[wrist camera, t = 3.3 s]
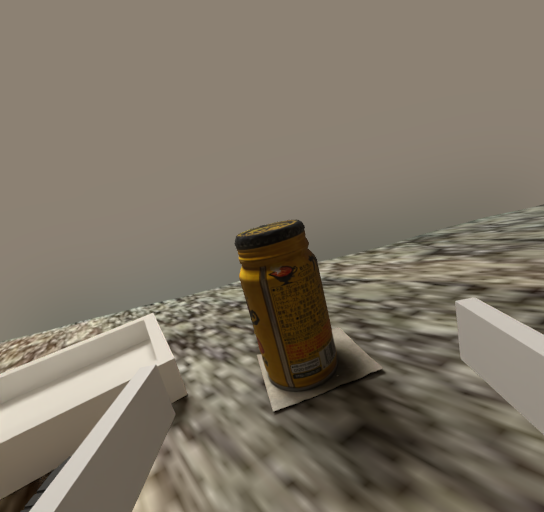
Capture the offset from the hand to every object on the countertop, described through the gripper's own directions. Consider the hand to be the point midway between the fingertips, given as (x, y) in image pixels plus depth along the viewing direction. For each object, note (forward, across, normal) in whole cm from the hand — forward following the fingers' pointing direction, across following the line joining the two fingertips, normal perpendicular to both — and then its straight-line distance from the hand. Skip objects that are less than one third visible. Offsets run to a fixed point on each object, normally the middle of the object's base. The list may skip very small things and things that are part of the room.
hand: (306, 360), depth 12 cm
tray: (+10, -22, -7) cm, 25 cm away
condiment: (+10, 0, -7) cm, 12 cm away
